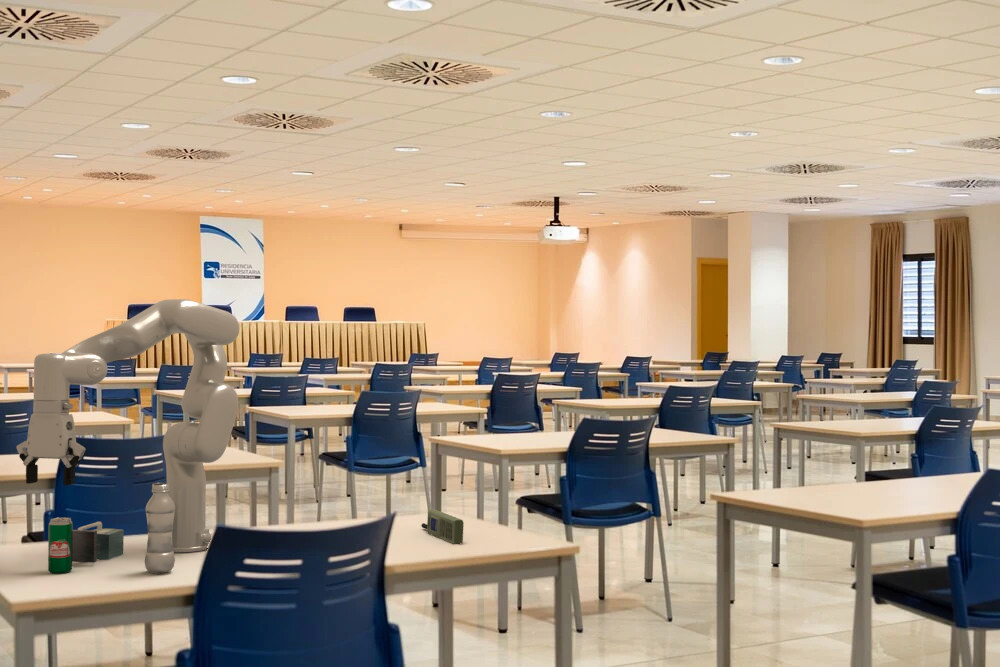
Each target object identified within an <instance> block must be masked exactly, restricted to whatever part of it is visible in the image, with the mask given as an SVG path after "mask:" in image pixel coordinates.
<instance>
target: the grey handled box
mask: <svg viewBox="0 0 1000 667" xmlns="http://www.w3.org/2000/svg"><path fill="white" fill-rule="evenodd" d="M95 527H96V529H97V531H102V529H103V523H102V521H96V522H93V523H90V524H87V525H83V526H80V527H78V528H77V529H73V539H72V563H87V564H88V563H91V564H94V563H97V561H98V559H97V551H99V550H100V546H99V545H97V531H91V530H88V529H91V528H95Z"/></svg>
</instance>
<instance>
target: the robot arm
mask: <svg viewBox="0 0 1000 667" xmlns="http://www.w3.org/2000/svg"><path fill="white" fill-rule="evenodd" d="M174 334H184V337H185V338H186V340H187V342H188V344H189V345H190V347H191V350H192V355H193V362H192V368H191V371H190V374H189V377H188V381H187V383H186V386H185V389H184V391H183V395H182V399H181V402H180V403H181V405H180V406H181V409H182V412H183V413H184V414H185V415H186V416H187V417H189V418H192V419H196V420H199V422H185V421H183V422H177V423H175V424H172V425H171V426H170V427H169V428H167V430H166V431H165V433H164V435H163V439H162V440H163V441H162V448H163V454H164V460H165V467H166V483H168V484H169V492H168V495H169V496H170V498H171V499H172V500H173V502H174V504H175V513H174V520H173V530H172V542H173V551H174V553H191V552H193V553H194V552H200V551H204V550H207V549H206V548H207V546H208V544H209V542H210V540H211V537H212V534H211V533H210V528H206V519H207V518H206V517H207V516H206V514H207V513H206V506H207V505H206V502H207V497H206V496H207V494H206V492H207V491H206V490H207V476H206V470H205V466H204V463H205V464H209V463H210V464H211V463H214V462H216V461H218V460H219V459H220V458H222V456H223V455H224V453H225V451H226V448H227V447H228V444H229V441H230V438H231V434H232V431H233V429H234V425H235V421H236V419H237V416H238V412H239V396H238V393H237V391H236V390H235V388H234V387H232V386H231V385H230V384H228V383H224V382H225V378H226V373H227V370H228V359H227V354H226V351H225V349H224V348H225V347H224V346H226V345H227V346H228V345H230V344H231V343H233V342H234V341H236V339H237V338H238V336H239V334H240V323H239V321H238V319H237V317H236V316H235V315H234V314H232V313H231V312H229V311H226V310H223V309H220V308H217V307H214V306H210V305H207V304H205V303H201V302H198V301H195V300H191V299H186V298H179V299H177V298H175V299H162V300H160V301H158V302H156V303H154V304H152V305H151V306H149V307H148V308H146V309H144V310H142V311H141V312H139V313H137V314H135V316H132V317H131V318H129V319H127V320H126V321H125V322H122V323H120V324H119V325H116V326H113V327H110V328H109V329H108V328H107V330H105V331H102V332H100V333H96V334H95V335H92V336H90V337H87V338H86V339H84V340H82V341H80V342H78V343H76V344H75V345H73V346H72V347H70V348H68V349H66V350H65V351H63V352H62V353H39V354H38V355H36V356H35V357H34V360H33V362H34V363H33V406H32V407H33V408H32V409H33V413H32V414H31V415H30V417H29V418H30V419H29V423H28V428H27V429H28V431H27V438H26V440H24V441H23V442H21V443H19V444H17V445H16V450H17V453H18V454H19V459H20V460H21V461H22V462H23V463H22V464H23V465H24V466H25V483H26V484H28V485H29V484H34V483H37V482H38V480H39V478H38V477H39V475H38V472H39V471H38V470H39V466H38V464H36V463H37V462H38V461H39V459H48V460H49V459H52V460H57V459H58V460H59V459H60V460H61V461H62V462H63V465H65V467H63V471H62V472H63V473H62V484H63V486H72V485H74V484H75V480H76V467H78V465H79V463H80V462H81V461H82V460H83V457H84V454H85V453H86V450H87V449H86V447H85V446H83V445H81V444H80V443H78V442H77V437H76V426H75V420H74V416H73V414H71V413H70V410H73V408H74V405H73V403H71V402H70V386H71V385H77V386H78V385H79V386H94V385H97V384H99V383H100V382H102V381H103V380H104V379H105V378H106V377H107V373H108V370H109V369H108V365H107V364H108V363H111V362H114V361H115V362H116V361H120V360H125V359H130V358H134V357H136V356H139V355H141V354H143V353H145V352H146V351H148V350H149V349H151V348H153V347H154V346H156V345H158V344H159V343H161V342H162V341H164V340H166V339H167V338H169V337H170V336H172V335H174Z"/></svg>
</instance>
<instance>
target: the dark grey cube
mask: <svg viewBox="0 0 1000 667" xmlns="http://www.w3.org/2000/svg"><path fill="white" fill-rule="evenodd" d="M90 531H97V528H96V529H91V530H90ZM124 533H125V532H124V529H122V528H121V529H116V528H102V531H97V545H99V546H100V550H99V551H97V560H106V561H108V560H109V561H110V560H112V559H115V558H117V557H120V556H122V555H124V541H125V540H124V539H125V537H124Z"/></svg>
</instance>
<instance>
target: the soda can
mask: <svg viewBox="0 0 1000 667" xmlns="http://www.w3.org/2000/svg"><path fill="white" fill-rule="evenodd" d="M73 524H74V523H73V521H72V518H71V517H54V518H51V519H50V520H49V523H48V535H47V536H48V543H47V544H48V551H47V553H48V555H47V556H48V558H47V560H48V562H47V564H48V565H47V569H48V570H47V571H48V572H49V573H50V574H53V575H63V574H64V575H65V574H68V573H71V571H73V562H72V539H73V530H74V529H73V526H74V525H73Z"/></svg>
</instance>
